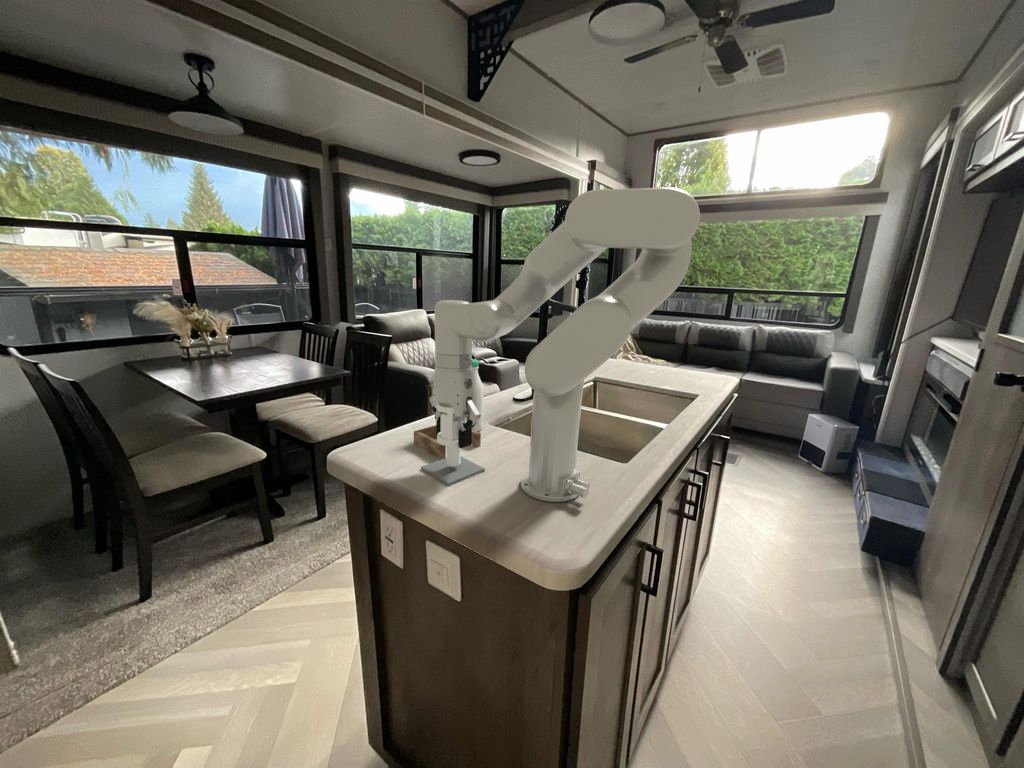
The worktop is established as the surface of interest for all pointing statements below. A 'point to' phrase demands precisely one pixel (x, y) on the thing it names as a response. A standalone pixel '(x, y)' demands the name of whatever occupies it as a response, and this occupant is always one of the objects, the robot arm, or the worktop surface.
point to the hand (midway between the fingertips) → (453, 440)
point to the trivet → (452, 470)
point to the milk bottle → (478, 396)
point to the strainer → (450, 434)
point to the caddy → (429, 443)
